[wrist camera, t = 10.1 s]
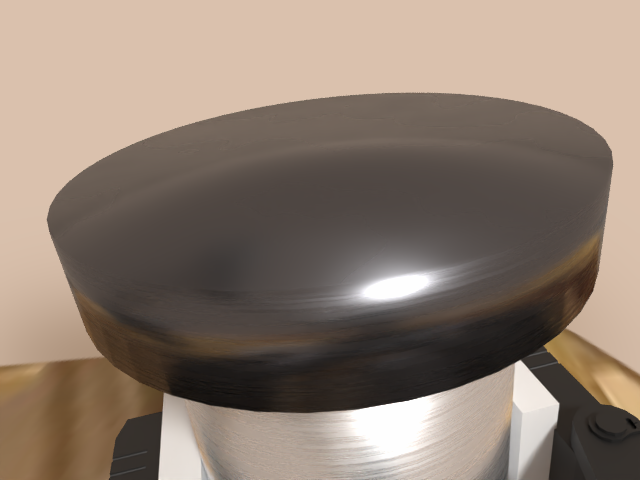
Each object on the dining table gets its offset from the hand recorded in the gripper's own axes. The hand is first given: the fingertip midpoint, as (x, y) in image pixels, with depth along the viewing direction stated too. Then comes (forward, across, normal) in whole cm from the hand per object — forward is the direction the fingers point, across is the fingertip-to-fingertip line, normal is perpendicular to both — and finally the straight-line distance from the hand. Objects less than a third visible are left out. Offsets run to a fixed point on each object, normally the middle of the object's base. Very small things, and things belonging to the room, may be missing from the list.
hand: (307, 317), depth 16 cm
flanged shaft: (-5, 0, -10) cm, 11 cm away
